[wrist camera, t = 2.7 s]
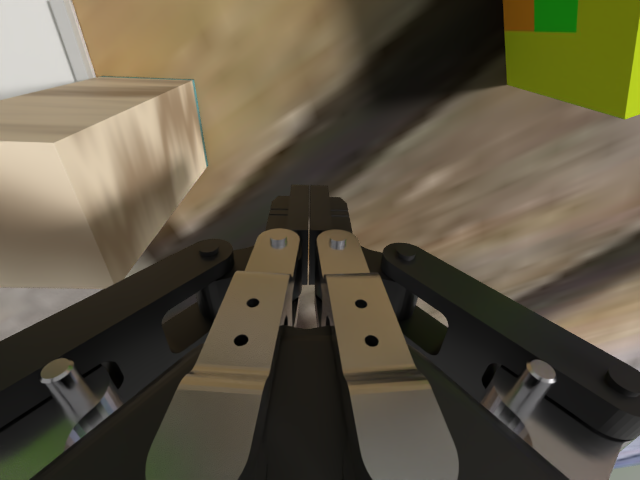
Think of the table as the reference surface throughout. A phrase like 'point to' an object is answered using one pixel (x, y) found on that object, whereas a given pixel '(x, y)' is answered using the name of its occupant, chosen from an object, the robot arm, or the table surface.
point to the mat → (40, 47)
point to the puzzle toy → (576, 52)
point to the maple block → (93, 177)
